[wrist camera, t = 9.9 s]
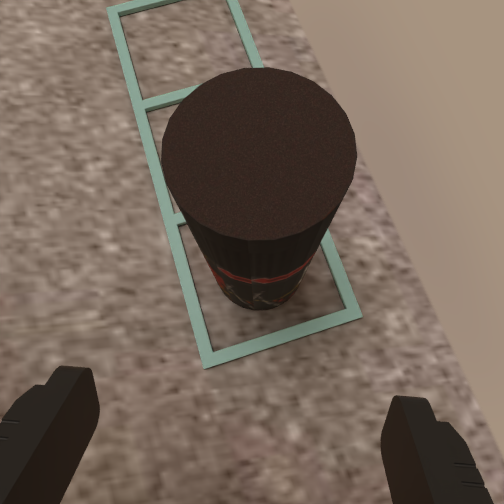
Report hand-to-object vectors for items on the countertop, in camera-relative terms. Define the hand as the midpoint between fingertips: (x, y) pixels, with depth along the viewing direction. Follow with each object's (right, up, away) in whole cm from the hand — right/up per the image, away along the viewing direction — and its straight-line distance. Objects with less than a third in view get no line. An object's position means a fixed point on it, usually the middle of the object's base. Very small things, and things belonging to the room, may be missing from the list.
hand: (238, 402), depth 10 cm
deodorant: (+1, +3, +16) cm, 16 cm away
